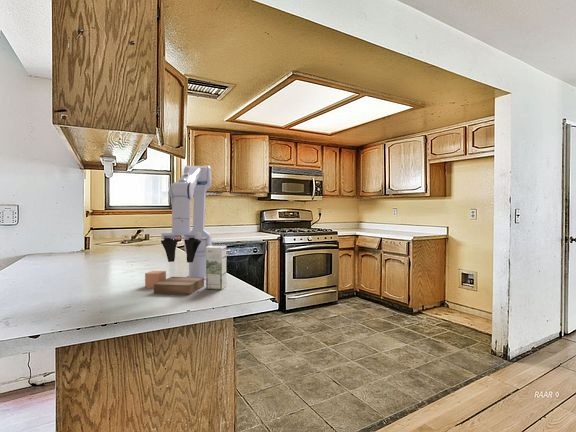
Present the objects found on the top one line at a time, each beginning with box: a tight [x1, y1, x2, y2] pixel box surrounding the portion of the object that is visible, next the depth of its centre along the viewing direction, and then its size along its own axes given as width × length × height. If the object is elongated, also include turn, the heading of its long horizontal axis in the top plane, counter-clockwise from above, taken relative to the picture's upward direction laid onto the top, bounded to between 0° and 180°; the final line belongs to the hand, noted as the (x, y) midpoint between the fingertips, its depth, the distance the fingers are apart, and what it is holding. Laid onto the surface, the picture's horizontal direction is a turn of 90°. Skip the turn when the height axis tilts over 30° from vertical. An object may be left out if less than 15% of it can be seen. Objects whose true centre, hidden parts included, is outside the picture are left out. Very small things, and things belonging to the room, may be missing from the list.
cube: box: [144, 270, 167, 289], centre depth 117 cm, size 5×5×5 cm
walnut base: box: [153, 276, 205, 296], centre depth 112 cm, size 12×12×3 cm
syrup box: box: [205, 244, 227, 290], centre depth 115 cm, size 6×6×14 cm
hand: (180, 262), depth 106 cm, fingers open, 7 cm apart
